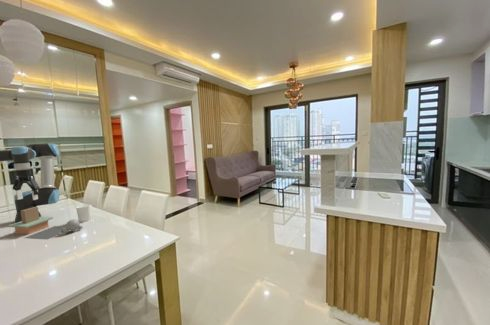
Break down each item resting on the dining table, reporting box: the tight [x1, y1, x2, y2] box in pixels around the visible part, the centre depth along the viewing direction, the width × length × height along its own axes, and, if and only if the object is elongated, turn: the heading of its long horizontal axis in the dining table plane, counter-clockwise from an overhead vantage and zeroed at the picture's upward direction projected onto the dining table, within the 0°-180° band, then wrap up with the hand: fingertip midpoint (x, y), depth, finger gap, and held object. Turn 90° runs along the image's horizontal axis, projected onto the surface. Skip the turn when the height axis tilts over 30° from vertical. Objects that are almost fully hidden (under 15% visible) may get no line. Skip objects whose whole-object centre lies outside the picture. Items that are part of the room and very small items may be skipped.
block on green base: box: [7, 206, 54, 228], centre depth 150 cm, size 16×16×10 cm
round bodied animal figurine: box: [59, 218, 84, 236], centre depth 143 cm, size 7×12×8 cm, turn 146°
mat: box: [24, 225, 66, 240], centre depth 145 cm, size 19×19×1 cm
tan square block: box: [14, 220, 49, 235], centre depth 151 cm, size 12×12×6 cm
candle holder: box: [75, 203, 93, 223], centre depth 165 cm, size 10×10×12 cm
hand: (27, 199), depth 149 cm, fingers open, 13 cm apart
